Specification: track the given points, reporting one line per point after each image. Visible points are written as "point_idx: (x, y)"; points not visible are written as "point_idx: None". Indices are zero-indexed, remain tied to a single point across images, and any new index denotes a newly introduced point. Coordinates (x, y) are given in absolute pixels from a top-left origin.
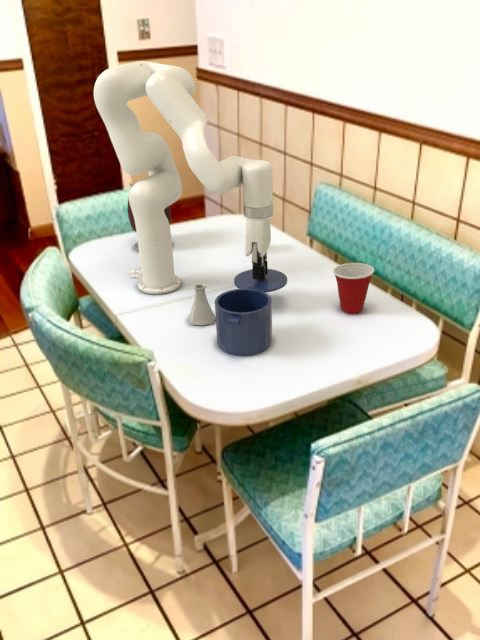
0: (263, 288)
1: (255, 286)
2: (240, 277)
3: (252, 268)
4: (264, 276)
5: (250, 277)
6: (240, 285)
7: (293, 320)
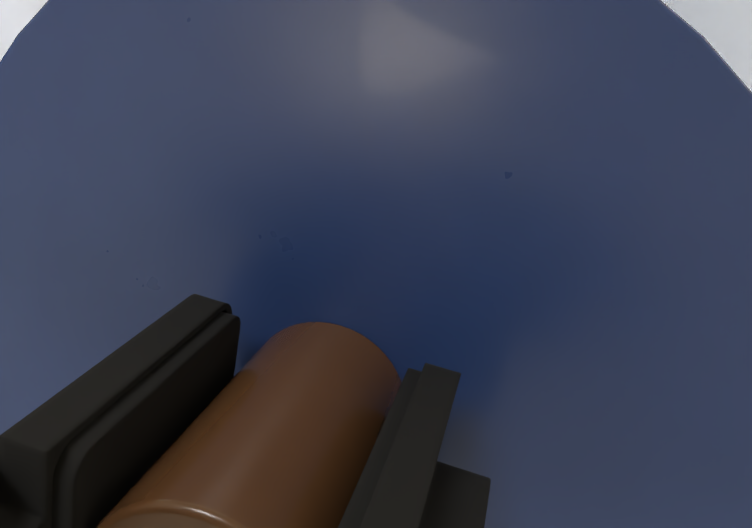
0: (26, 400)
1: (70, 299)
2: (411, 30)
3: (63, 389)
4: None
5: (408, 232)
6: (73, 52)
7: None
